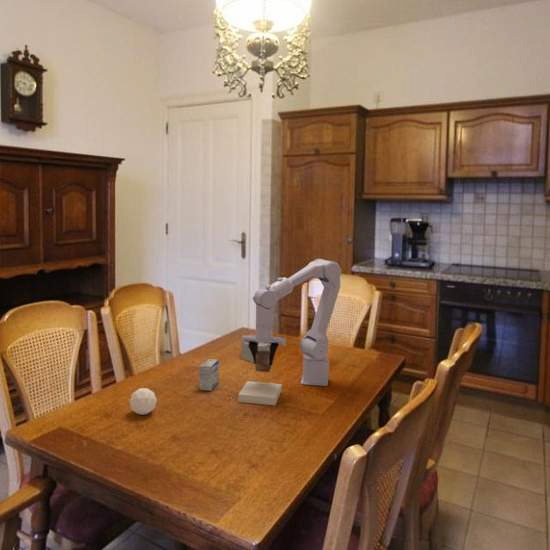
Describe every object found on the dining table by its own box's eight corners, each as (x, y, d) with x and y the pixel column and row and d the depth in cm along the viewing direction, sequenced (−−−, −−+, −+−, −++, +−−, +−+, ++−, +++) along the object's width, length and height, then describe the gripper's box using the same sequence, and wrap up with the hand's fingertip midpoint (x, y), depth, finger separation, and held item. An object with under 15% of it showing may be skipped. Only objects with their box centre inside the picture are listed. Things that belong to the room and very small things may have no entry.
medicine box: (211, 391, 167) (211, 366, 165) (199, 390, 167) (199, 365, 166) (218, 383, 174) (218, 359, 173) (206, 381, 175) (206, 358, 174)
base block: (281, 392, 168) (281, 384, 168) (275, 406, 156) (275, 397, 156) (247, 389, 170) (247, 381, 170) (238, 403, 158) (238, 394, 158)
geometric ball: (139, 424, 147) (123, 408, 143) (140, 405, 154) (125, 389, 150) (161, 413, 146) (145, 397, 142) (161, 394, 153) (147, 378, 149)
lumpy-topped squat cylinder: (262, 364, 195) (262, 343, 193) (235, 358, 202) (235, 337, 200) (275, 357, 203) (276, 337, 202) (250, 352, 210) (250, 332, 209)
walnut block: (271, 367, 169) (271, 350, 168) (268, 372, 164) (269, 354, 164) (258, 366, 170) (258, 349, 169) (255, 371, 165) (255, 353, 164)
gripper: (240, 326, 162) (239, 366, 164) (284, 329, 160) (283, 369, 162) (245, 321, 169) (244, 359, 171) (287, 323, 166) (285, 362, 168)
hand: (263, 363), depth 167 cm, fingers closed on walnut block, 5 cm apart
